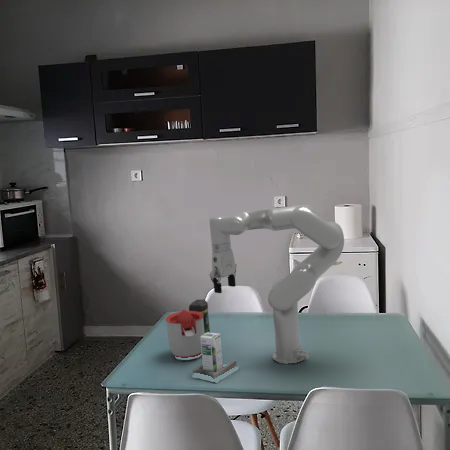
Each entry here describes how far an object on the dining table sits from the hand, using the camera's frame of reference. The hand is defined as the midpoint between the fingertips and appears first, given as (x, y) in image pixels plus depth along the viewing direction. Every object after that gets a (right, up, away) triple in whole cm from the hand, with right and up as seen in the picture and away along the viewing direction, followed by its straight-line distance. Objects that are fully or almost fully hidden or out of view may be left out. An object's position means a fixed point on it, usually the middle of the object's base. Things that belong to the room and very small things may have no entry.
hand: (225, 289), depth 204 cm
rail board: (-4, -30, -11) cm, 32 cm away
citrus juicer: (-15, -29, +8) cm, 33 cm away
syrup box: (-4, -30, -12) cm, 32 cm away
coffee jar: (-10, -26, +24) cm, 37 cm away
